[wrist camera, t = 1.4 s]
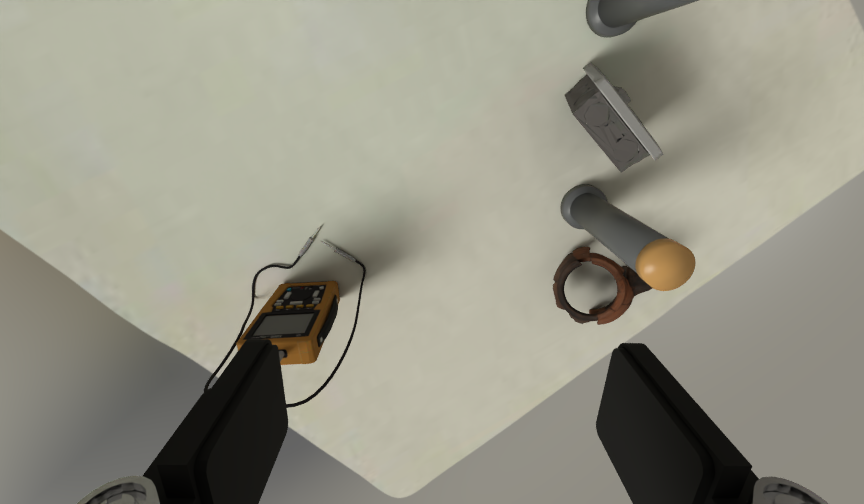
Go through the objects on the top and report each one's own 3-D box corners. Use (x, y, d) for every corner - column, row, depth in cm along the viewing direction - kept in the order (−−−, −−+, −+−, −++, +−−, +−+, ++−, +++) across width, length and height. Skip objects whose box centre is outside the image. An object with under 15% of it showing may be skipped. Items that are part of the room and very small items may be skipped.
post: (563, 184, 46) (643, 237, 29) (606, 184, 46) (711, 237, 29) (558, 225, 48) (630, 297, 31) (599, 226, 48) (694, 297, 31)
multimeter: (360, 222, 47) (320, 307, 29) (370, 297, 51) (339, 415, 32) (236, 229, 47) (115, 318, 29) (254, 303, 51) (158, 425, 32)
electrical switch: (639, 127, 44) (683, 143, 36) (599, 160, 46) (632, 183, 37) (587, 60, 41) (621, 60, 33) (547, 98, 43) (570, 107, 35)
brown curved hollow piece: (570, 324, 54) (565, 339, 46) (546, 258, 55) (537, 261, 47) (668, 299, 49) (680, 311, 42) (640, 227, 50) (647, 226, 42)
